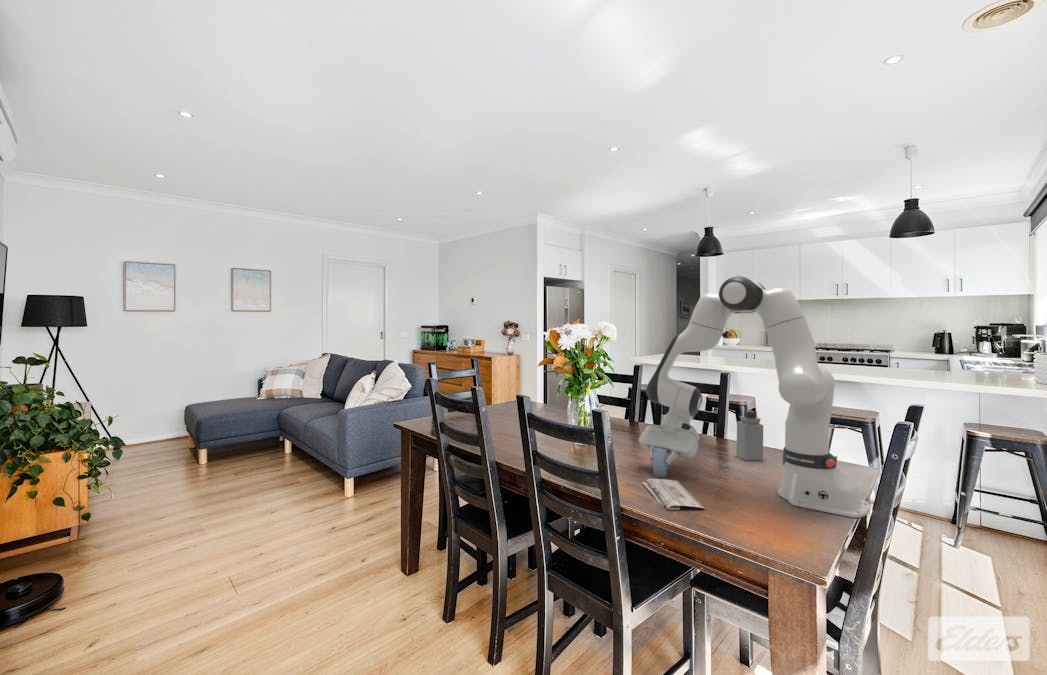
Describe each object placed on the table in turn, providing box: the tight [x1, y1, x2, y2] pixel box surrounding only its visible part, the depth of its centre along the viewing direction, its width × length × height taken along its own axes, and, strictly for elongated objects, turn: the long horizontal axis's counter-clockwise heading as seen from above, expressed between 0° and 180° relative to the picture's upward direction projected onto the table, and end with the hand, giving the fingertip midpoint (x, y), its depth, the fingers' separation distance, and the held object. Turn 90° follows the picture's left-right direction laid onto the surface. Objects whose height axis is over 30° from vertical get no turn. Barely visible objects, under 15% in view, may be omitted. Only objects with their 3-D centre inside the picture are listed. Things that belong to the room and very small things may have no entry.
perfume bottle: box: [736, 410, 764, 462], centre depth 175 cm, size 7×7×18 cm
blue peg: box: [652, 447, 668, 478], centre depth 157 cm, size 4×4×9 cm
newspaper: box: [641, 478, 706, 511], centre depth 138 cm, size 23×12×2 cm, turn 0°
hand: (659, 461), depth 156 cm, fingers closed on blue peg, 4 cm apart
